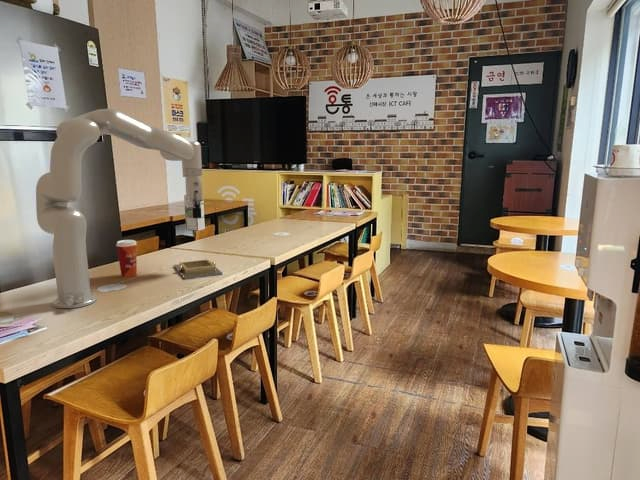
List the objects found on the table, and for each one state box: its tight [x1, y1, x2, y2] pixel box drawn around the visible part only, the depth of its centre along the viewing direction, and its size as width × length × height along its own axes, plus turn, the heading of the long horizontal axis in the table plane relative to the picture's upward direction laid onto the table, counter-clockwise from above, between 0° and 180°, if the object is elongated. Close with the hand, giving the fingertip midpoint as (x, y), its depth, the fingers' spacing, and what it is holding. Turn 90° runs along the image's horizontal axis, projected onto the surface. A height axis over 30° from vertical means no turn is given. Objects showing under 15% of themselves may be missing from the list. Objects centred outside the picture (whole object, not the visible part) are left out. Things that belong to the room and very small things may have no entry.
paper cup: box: [115, 239, 138, 278], centre depth 181 cm, size 8×8×14 cm
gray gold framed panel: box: [173, 259, 223, 280], centre depth 190 cm, size 22×15×3 cm
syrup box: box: [183, 194, 206, 232], centre depth 185 cm, size 6×6×14 cm
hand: (194, 216), depth 186 cm, fingers closed on syrup box, 8 cm apart
